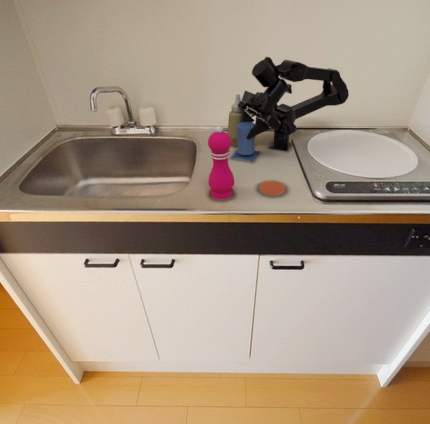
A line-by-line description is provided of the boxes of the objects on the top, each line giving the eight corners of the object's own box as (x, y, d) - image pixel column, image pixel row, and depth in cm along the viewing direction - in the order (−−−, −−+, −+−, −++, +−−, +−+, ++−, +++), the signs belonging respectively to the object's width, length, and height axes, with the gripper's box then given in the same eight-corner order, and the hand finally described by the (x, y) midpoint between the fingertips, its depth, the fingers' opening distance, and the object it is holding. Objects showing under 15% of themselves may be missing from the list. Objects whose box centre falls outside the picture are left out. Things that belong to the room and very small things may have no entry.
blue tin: (250, 146, 102) (251, 120, 97) (257, 153, 98) (258, 126, 92) (235, 149, 101) (234, 123, 95) (240, 156, 97) (240, 129, 91)
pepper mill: (232, 202, 77) (230, 132, 65) (206, 200, 79) (200, 131, 67) (236, 188, 83) (236, 121, 71) (212, 186, 84) (208, 120, 72)
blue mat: (239, 149, 105) (239, 148, 104) (259, 152, 102) (259, 151, 102) (231, 158, 99) (231, 156, 99) (252, 161, 96) (252, 160, 96)
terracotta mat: (263, 180, 86) (263, 179, 86) (288, 185, 84) (288, 183, 84) (255, 193, 81) (255, 191, 81) (281, 198, 78) (281, 197, 78)
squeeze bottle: (223, 144, 109) (221, 95, 98) (236, 137, 114) (236, 90, 103) (239, 149, 105) (239, 99, 94) (252, 142, 109) (254, 93, 99)
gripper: (242, 75, 94) (214, 114, 97) (275, 86, 80) (241, 131, 83) (261, 95, 101) (234, 131, 104) (294, 109, 88) (263, 150, 91)
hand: (242, 135), depth 95 cm, fingers closed on blue tin, 6 cm apart
